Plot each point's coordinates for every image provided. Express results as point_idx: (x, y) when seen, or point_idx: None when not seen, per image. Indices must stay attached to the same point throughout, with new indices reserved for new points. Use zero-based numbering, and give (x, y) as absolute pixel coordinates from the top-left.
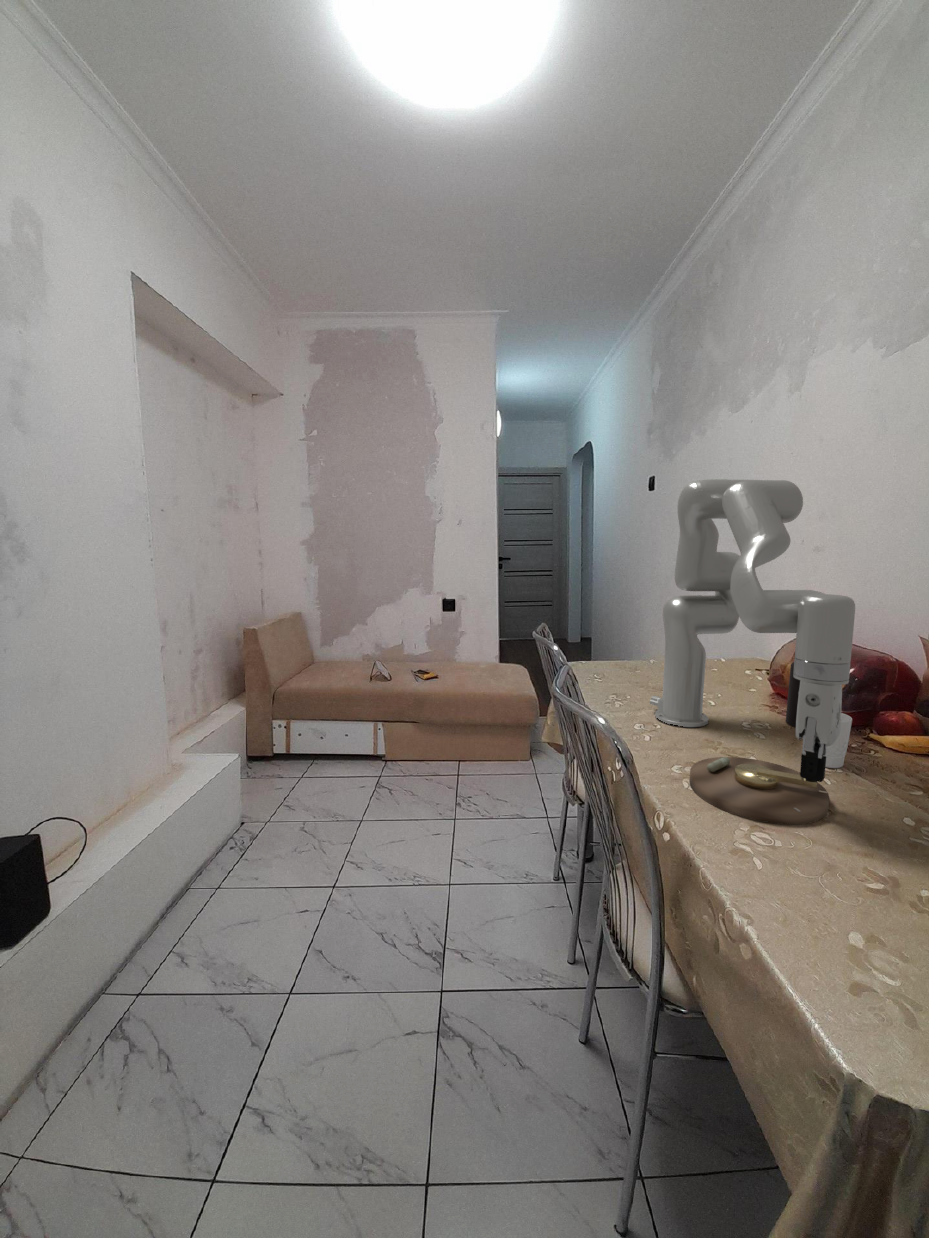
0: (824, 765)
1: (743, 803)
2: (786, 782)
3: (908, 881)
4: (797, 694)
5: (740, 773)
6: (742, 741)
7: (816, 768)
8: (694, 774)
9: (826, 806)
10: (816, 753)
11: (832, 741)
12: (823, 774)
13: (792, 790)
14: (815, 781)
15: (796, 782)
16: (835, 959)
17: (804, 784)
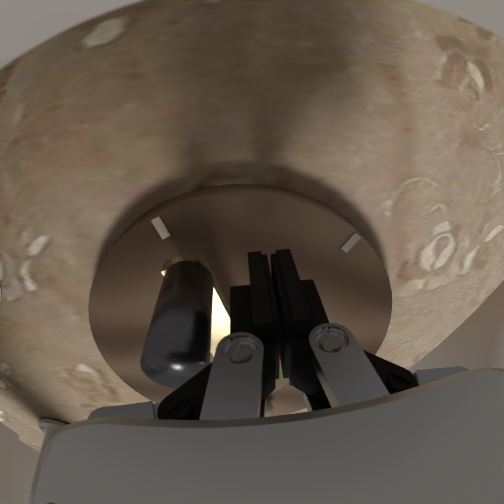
0: (268, 291)
1: (379, 323)
2: None
3: (432, 19)
4: None
5: (285, 383)
6: (44, 384)
7: (321, 301)
8: (299, 406)
9: (245, 192)
10: (390, 362)
11: (480, 391)
12: (285, 263)
13: (223, 286)
14: (198, 264)
15: (223, 298)
16: None
17: (215, 279)
